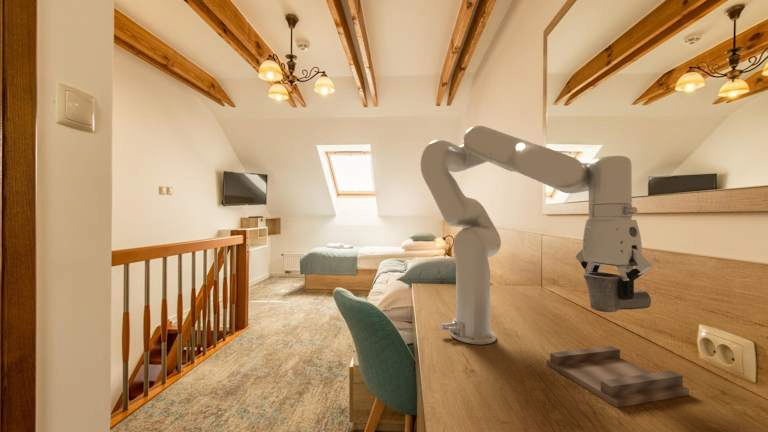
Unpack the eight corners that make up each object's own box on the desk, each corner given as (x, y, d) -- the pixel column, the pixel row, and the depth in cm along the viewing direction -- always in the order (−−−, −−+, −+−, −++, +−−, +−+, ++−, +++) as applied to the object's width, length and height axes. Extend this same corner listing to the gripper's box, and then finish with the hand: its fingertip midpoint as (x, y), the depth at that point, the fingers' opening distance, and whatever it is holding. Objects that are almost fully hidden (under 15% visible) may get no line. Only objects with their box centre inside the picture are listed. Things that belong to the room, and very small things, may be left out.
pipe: (656, 315, 60) (658, 277, 60) (593, 315, 61) (594, 277, 60) (633, 305, 66) (634, 270, 66) (575, 304, 67) (576, 270, 67)
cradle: (616, 407, 52) (616, 389, 52) (546, 364, 68) (546, 350, 68) (689, 394, 56) (689, 378, 56) (607, 357, 72) (607, 344, 72)
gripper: (668, 212, 57) (669, 305, 56) (586, 214, 73) (586, 286, 73) (640, 211, 55) (641, 307, 54) (562, 213, 71) (562, 287, 71)
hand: (609, 294), depth 64 cm, fingers closed on pipe, 6 cm apart
